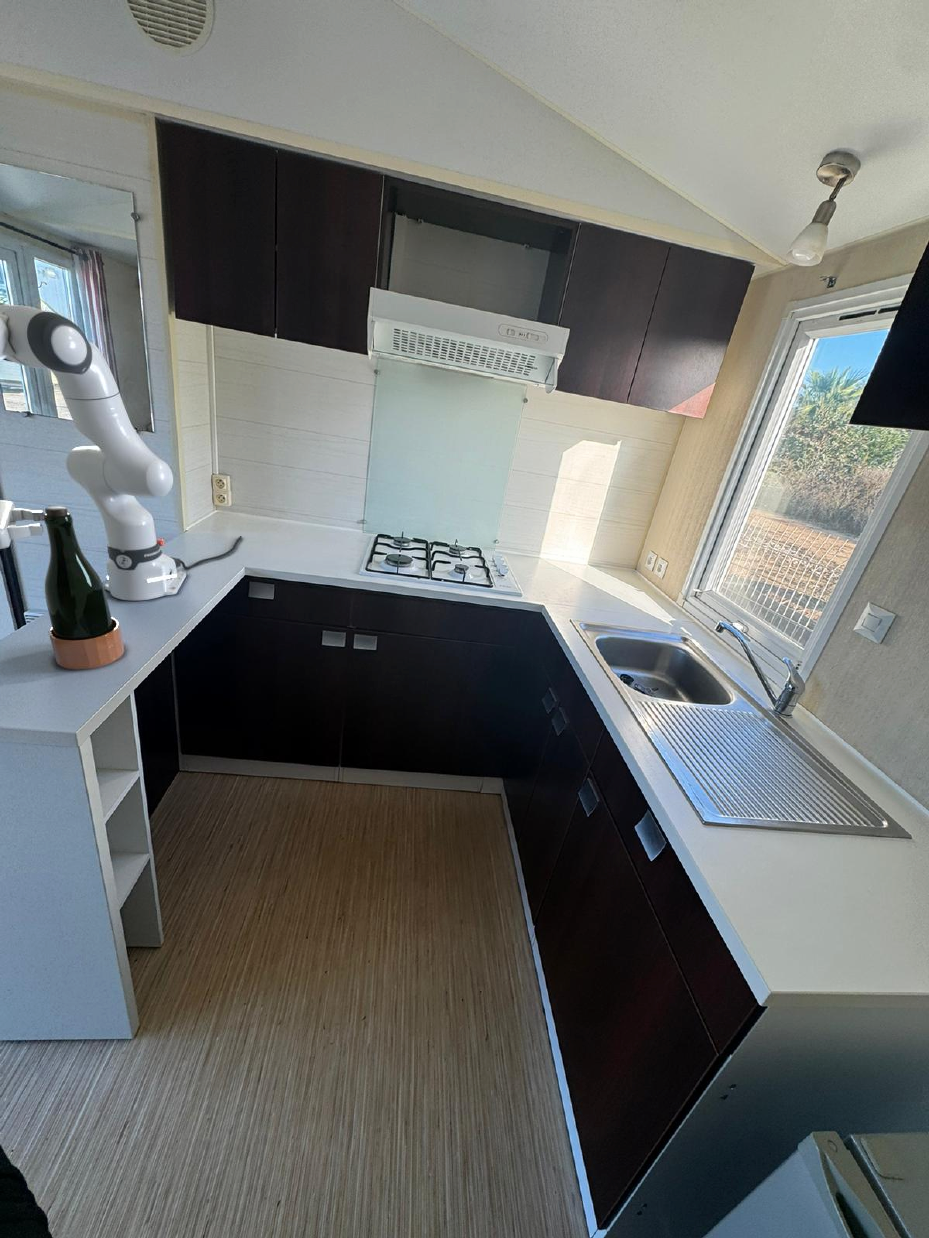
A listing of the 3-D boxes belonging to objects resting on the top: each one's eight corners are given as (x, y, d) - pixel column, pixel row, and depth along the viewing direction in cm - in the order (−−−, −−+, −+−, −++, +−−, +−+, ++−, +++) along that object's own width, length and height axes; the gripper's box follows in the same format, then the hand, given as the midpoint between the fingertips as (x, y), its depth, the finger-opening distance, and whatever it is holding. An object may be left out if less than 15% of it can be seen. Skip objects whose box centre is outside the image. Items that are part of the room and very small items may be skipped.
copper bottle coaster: (78, 639, 113) (72, 613, 110) (134, 643, 115) (129, 617, 112) (42, 667, 103) (34, 638, 100) (105, 671, 104) (98, 643, 101)
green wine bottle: (47, 657, 105) (5, 507, 90) (93, 637, 114) (61, 497, 100) (86, 669, 103) (49, 518, 88) (129, 648, 112) (102, 507, 98)
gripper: (-76, 524, 77) (37, 521, 85) (-53, 493, 92) (42, 493, 100) (-63, 561, 80) (45, 555, 88) (-43, 526, 95) (49, 523, 102)
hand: (43, 522), depth 94 cm, fingers open, 8 cm apart
